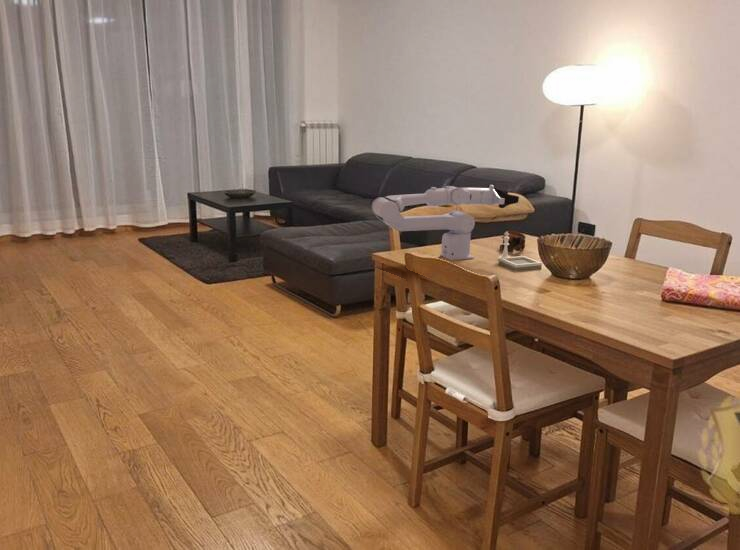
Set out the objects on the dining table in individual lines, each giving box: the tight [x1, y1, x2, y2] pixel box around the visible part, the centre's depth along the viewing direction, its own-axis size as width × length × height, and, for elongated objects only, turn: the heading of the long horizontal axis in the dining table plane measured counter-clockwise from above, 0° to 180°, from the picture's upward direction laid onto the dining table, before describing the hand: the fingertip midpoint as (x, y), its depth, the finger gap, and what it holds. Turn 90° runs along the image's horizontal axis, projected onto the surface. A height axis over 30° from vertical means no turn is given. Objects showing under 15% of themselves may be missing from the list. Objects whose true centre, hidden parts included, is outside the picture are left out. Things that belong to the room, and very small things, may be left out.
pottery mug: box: [498, 230, 526, 254], centre depth 239 cm, size 12×10×8 cm
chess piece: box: [497, 230, 510, 261], centre depth 225 cm, size 5×5×10 cm
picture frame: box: [498, 255, 543, 272], centre depth 218 cm, size 10×10×2 cm
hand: (512, 196), depth 230 cm, fingers open, 7 cm apart
